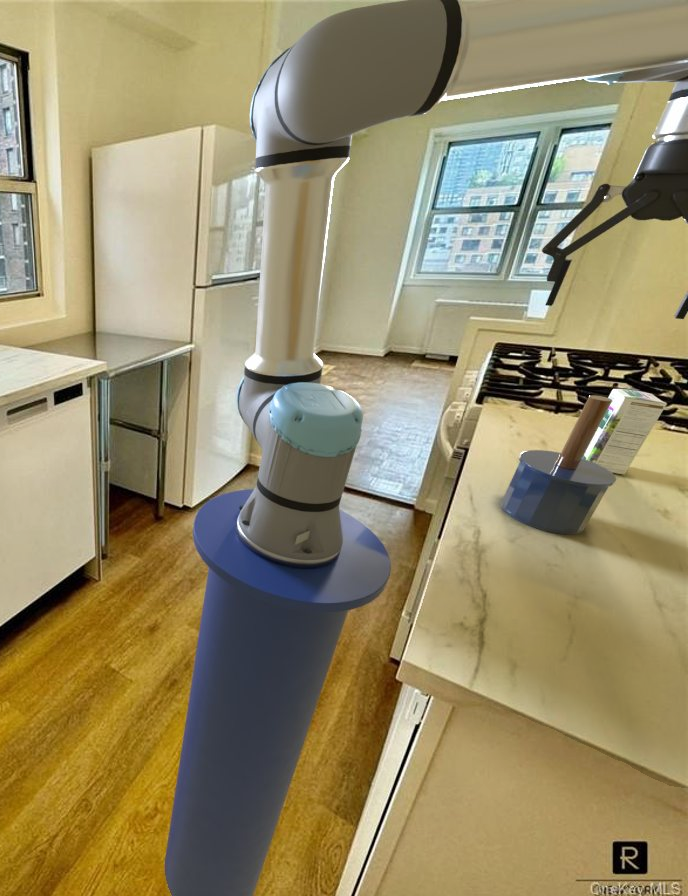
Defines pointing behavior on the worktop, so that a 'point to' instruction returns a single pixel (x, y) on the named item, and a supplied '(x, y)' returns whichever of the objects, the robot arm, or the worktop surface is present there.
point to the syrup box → (624, 429)
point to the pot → (550, 502)
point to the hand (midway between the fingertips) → (609, 310)
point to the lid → (575, 451)
